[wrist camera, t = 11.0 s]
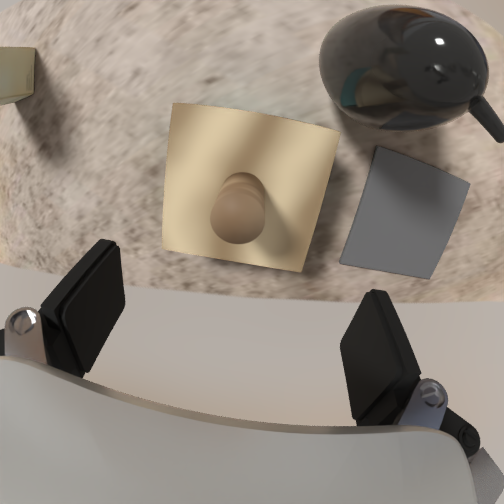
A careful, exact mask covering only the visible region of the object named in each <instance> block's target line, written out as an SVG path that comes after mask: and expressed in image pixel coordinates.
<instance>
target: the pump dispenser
mask: <svg viewBox="0 0 504 504" xmlns="http://www.w3.org/2000/svg"><path fill="white" fill-rule="evenodd" d="M319 67H320V74H321V78H322V81H323V84H324V86H325V88H326V90H327V92H328V94H329V96H330V97H331V99H332V100H333V101H334V103H335V104H336V105H337V106H338V107H339V108H340V109H341V110H342V111H343V112H344V113H345V114H346V115H347V116H349V117H350V118H351V119H353V120H354V121H356V122H358V123H360V124H362V125H364V126H367V127H370V128H373V129H377V130H381V131H389V132H413V131H422V130H427V129H432V128H436V127H439V126H442V125H445V124H447V123H450V122H452V121H454V120H456V119H457V118H459V117H461V116H462V115H464V114H465V113H467V112H470V113H471V114H472V115H473V116H474V117H475V118H476V119H477V120H478V121H479V123H480V124H481V125H482V126H483V127H484V128H485V129H486V130H487V131H488V132H489V134H490V135H491V136H492V137H493V138H494V139H495V140H496V142H498V143H503V142H504V125H503V123H502V122H501V120H500V119H499V117H498V116H497V114H496V113H495V112H494V110H493V109H492V107H491V106H490V105H489V103H488V102H487V101H486V99H485V98H484V97H483V95H484V93H485V90H486V87H487V84H488V79H489V66H488V62H487V58H486V55H485V53H484V51H483V49H482V47H481V45H480V44H479V42H478V41H477V39H476V38H475V37H474V36H473V35H472V33H471V32H470V31H468V30H467V29H466V28H465V27H464V26H463V25H461V24H460V23H458V22H457V21H455V20H454V19H452V18H450V17H448V16H446V15H444V14H442V13H439V12H436V11H433V10H430V9H426V8H422V7H416V6H409V5H381V6H374V7H370V8H366V9H363V10H360V11H357V12H355V13H352V14H350V15H348V16H346V17H344V18H343V19H341V20H340V21H339V22H337V23H336V24H335V25H334V26H333V27H332V28H331V29H330V30H329V32H328V33H327V34H326V36H325V38H324V40H323V42H322V45H321V49H320V54H319Z"/></svg>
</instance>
